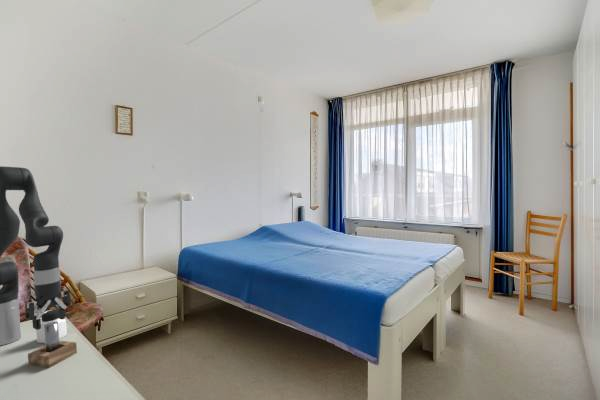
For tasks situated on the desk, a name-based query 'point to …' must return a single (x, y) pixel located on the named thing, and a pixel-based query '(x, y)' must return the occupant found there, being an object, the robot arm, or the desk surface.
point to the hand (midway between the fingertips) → (50, 323)
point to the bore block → (52, 355)
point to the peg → (51, 336)
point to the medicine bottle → (48, 318)
